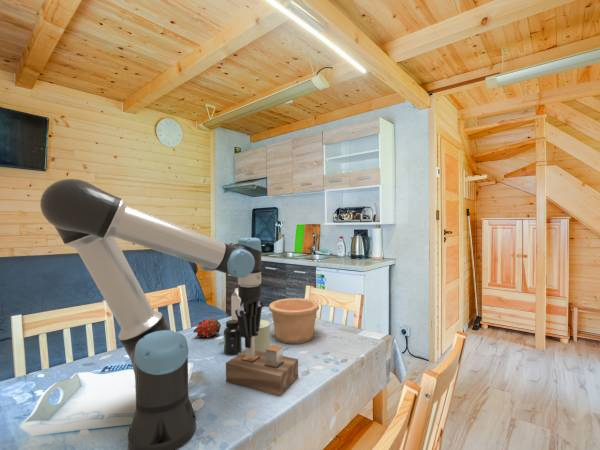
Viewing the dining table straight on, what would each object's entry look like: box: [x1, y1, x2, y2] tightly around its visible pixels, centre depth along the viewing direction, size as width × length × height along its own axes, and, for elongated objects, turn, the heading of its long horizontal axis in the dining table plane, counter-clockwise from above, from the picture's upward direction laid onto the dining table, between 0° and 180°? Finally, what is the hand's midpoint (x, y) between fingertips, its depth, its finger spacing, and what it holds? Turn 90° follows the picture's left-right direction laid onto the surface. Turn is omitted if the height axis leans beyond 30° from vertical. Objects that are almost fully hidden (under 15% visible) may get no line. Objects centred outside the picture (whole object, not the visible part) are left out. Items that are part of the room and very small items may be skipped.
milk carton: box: [230, 287, 241, 327], centre depth 151 cm, size 7×7×19 cm
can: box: [255, 319, 271, 352], centre depth 121 cm, size 9×9×12 cm
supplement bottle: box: [223, 319, 243, 356], centre depth 122 cm, size 7×7×12 cm
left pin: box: [242, 356, 259, 363], centre depth 103 cm, size 4×4×6 cm
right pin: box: [265, 344, 284, 368], centre depth 99 cm, size 4×4×6 cm
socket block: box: [225, 350, 299, 397], centre depth 101 cm, size 12×20×6 cm, turn 64°
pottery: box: [268, 297, 320, 345], centre depth 137 cm, size 22×22×14 cm
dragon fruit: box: [193, 317, 222, 339], centre depth 138 cm, size 8×8×12 cm
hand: (250, 355), depth 103 cm, fingers closed
